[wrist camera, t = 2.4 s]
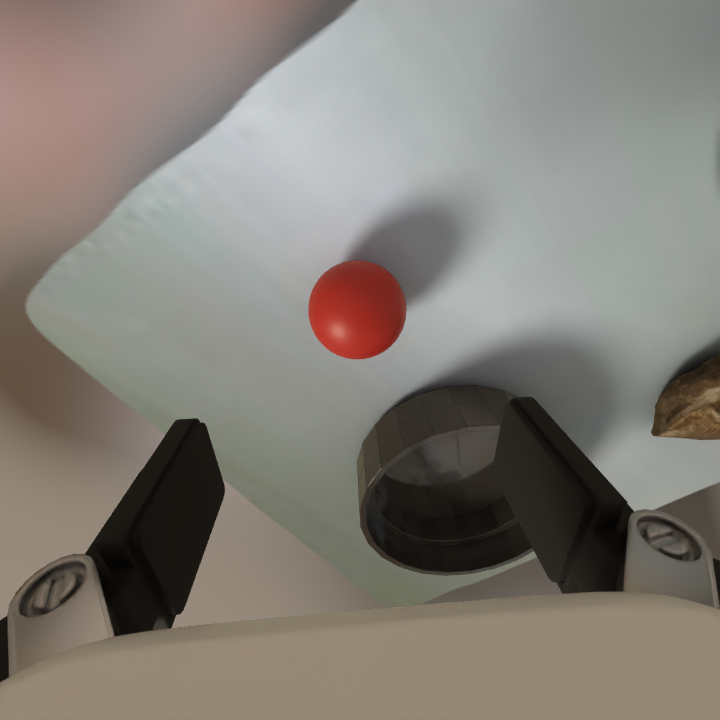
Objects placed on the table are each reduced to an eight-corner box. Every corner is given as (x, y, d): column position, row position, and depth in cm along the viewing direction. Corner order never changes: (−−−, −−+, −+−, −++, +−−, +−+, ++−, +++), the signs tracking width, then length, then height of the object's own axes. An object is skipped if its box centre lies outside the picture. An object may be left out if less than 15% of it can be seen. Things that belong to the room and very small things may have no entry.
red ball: (399, 249, 22) (417, 271, 17) (398, 333, 25) (412, 374, 20) (308, 253, 22) (297, 277, 17) (316, 337, 25) (309, 380, 20)
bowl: (562, 376, 28) (609, 418, 23) (522, 515, 36) (551, 569, 31) (353, 387, 27) (355, 432, 23) (360, 526, 35) (363, 581, 31)
